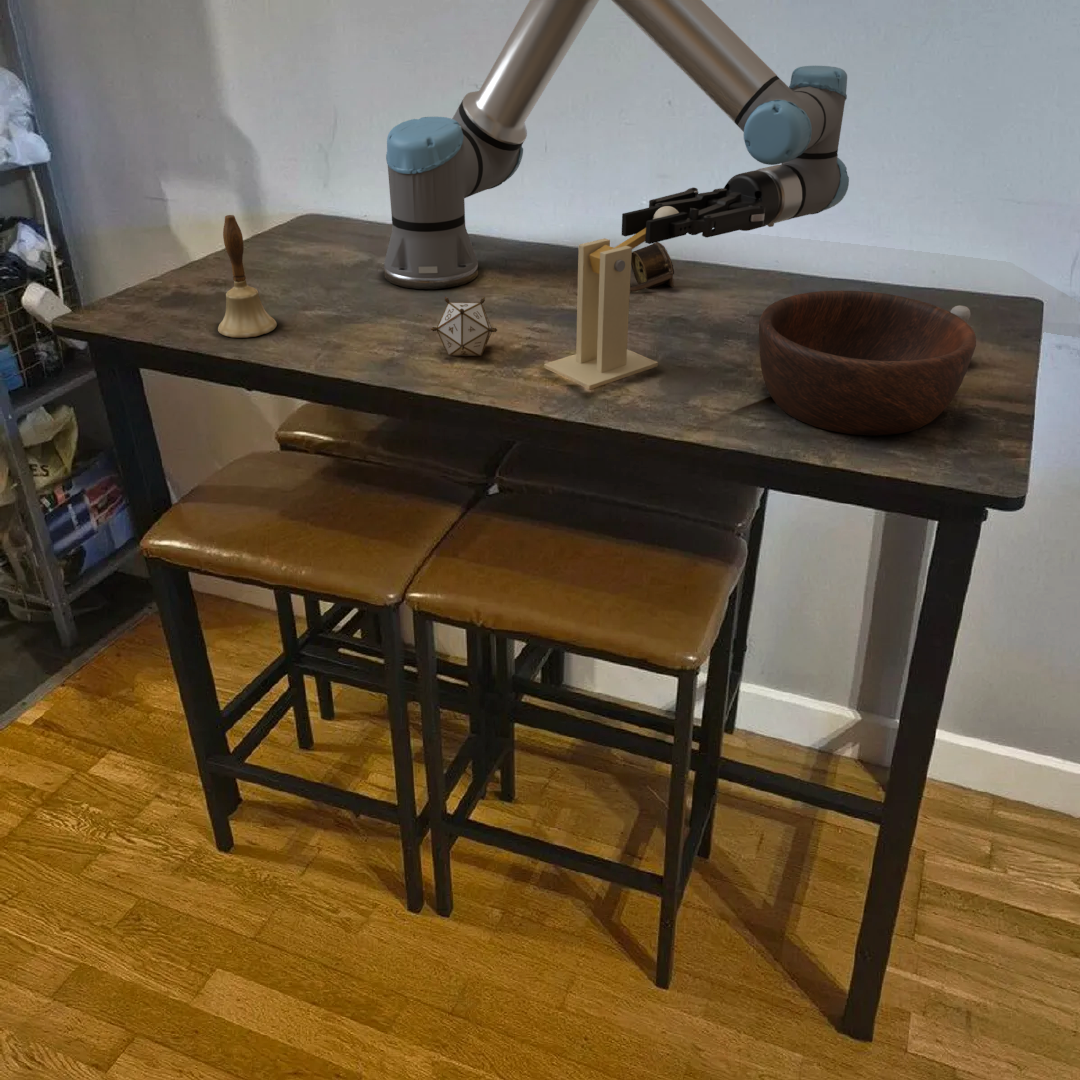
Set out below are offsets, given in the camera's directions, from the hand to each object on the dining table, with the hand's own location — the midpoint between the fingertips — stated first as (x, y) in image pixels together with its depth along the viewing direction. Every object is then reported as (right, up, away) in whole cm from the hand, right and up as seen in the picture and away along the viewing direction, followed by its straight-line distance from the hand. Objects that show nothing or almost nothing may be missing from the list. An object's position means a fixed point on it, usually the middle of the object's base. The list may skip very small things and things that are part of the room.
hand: (636, 228), depth 133 cm
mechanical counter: (+3, +1, +35) cm, 35 cm away
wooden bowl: (+27, -22, -1) cm, 35 cm away
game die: (-22, -14, +11) cm, 29 cm away
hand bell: (-54, -8, +21) cm, 59 cm away
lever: (+1, -2, +2) cm, 3 cm away
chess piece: (+43, -15, +10) cm, 47 cm away
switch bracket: (-4, -17, +7) cm, 19 cm away
